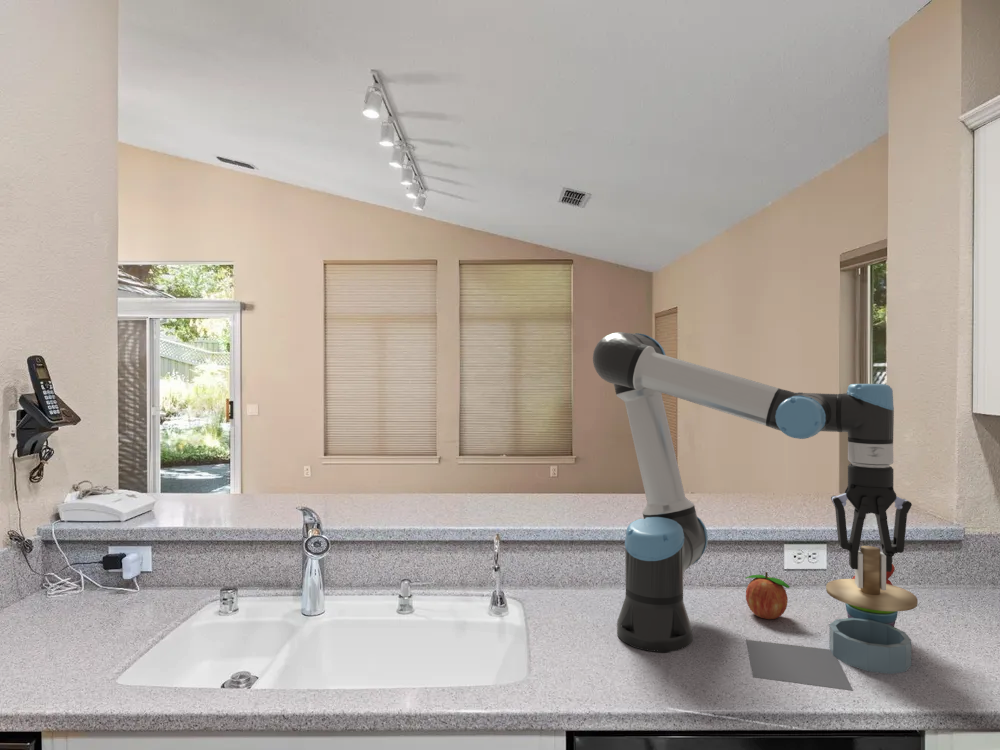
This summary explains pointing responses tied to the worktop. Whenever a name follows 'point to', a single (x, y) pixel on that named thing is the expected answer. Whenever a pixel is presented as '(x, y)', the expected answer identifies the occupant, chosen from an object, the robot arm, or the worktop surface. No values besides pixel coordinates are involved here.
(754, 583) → the fruit
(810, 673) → the mat
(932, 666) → the worktop surface
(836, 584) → the lid
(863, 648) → the bowl
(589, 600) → the worktop surface
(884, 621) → the stacking bear
